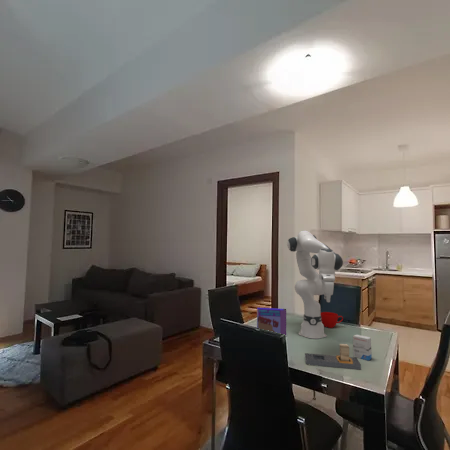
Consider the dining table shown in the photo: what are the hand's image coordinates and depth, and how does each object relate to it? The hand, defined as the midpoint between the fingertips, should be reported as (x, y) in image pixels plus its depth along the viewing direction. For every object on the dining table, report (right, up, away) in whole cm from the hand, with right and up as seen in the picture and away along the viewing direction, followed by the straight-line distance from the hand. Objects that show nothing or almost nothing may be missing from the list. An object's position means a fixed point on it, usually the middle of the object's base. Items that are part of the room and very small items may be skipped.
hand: (327, 300), depth 171 cm
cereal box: (-31, -32, +8) cm, 45 cm away
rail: (-2, -30, -13) cm, 33 cm away
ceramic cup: (+24, -36, +60) cm, 74 cm away
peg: (+4, -30, -14) cm, 34 cm away
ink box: (+19, -31, -4) cm, 37 cm away
